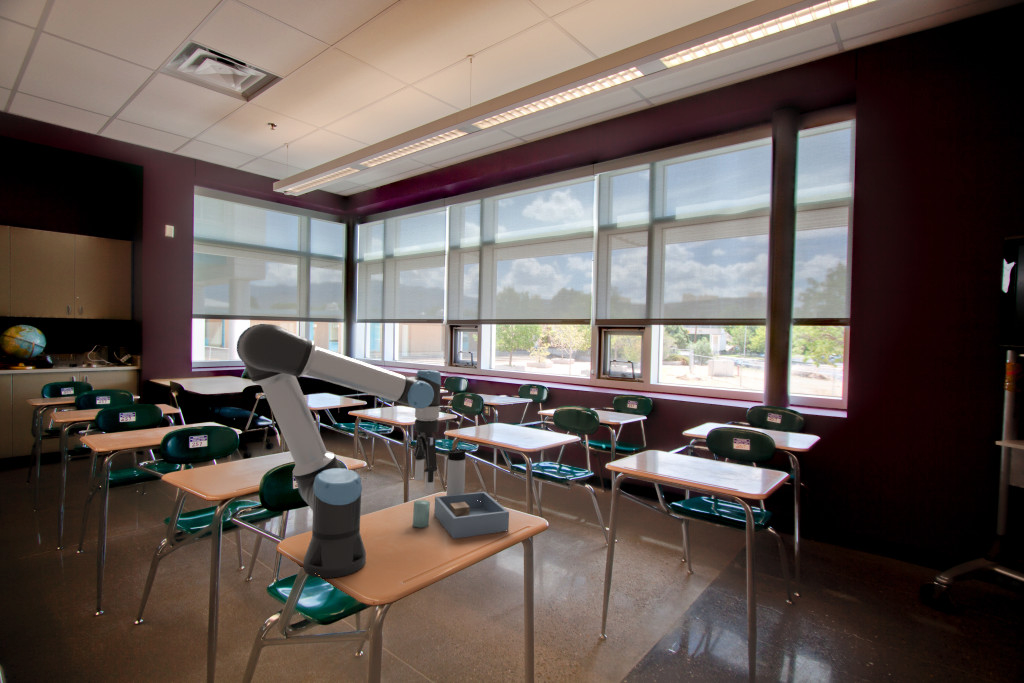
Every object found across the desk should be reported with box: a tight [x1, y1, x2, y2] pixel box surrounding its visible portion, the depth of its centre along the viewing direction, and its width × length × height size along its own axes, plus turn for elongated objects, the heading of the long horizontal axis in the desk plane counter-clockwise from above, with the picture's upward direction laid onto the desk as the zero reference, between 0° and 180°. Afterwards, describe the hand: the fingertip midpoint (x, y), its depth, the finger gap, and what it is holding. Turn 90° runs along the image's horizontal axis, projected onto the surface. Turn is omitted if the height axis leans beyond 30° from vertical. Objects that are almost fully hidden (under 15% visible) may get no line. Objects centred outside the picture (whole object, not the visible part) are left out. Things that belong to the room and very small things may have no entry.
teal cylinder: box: [412, 499, 431, 528], centre depth 155 cm, size 5×5×7 cm
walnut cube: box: [450, 502, 470, 517], centre depth 157 cm, size 5×5×5 cm
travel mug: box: [446, 448, 468, 496], centre depth 174 cm, size 6×7×20 cm
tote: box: [433, 491, 510, 539], centre depth 159 cm, size 18×21×6 cm
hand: (423, 485), depth 155 cm, fingers open, 13 cm apart
